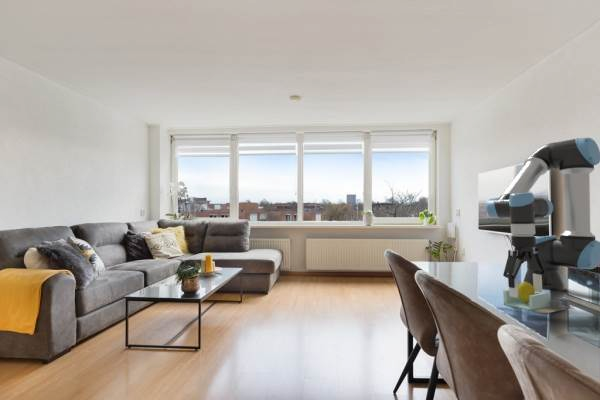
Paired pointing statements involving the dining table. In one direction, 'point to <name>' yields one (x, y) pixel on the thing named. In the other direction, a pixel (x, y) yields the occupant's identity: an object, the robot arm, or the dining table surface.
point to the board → (547, 310)
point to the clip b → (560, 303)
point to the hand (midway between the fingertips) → (526, 294)
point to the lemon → (525, 291)
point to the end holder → (534, 301)
